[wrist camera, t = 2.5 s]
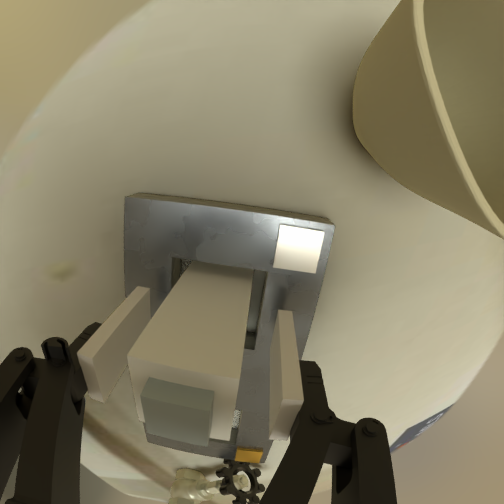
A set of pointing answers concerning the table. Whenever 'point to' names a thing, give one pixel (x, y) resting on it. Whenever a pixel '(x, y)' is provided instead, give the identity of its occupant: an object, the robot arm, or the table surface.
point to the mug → (438, 104)
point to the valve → (216, 485)
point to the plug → (193, 355)
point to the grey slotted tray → (238, 255)
